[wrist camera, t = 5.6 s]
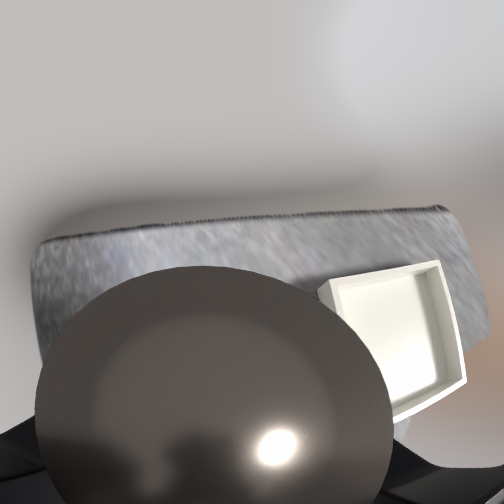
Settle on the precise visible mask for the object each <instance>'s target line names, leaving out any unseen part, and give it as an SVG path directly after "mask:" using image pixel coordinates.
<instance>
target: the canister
mask: <svg viewBox="0 0 504 504" xmlns="http://www.w3.org/2000/svg"><path fill="white" fill-rule="evenodd" d="M35 428H36V435H37V440H38V445H39V450H40V453H41V456H42V459H43V462H44V465H45V467H46V470H47V472H48V474H49V476H50V478H51V480H52V482H53V484H54V486H55V488H56V490H57V491H58V493H59V494H60V496H61V497H62V499H63V500H64V502H65V503H66V504H372V503H373V501H374V500H375V498H376V496H377V494H378V492H379V490H380V489H381V486H382V484H383V481H384V479H385V476H386V473H387V471H388V467H389V463H390V459H391V454H392V449H393V435H394V424H393V412H392V406H391V401H390V397H389V393H388V389H387V386H386V383H385V381H384V378H383V376H382V373H381V371H380V368H379V367H378V365H377V363H376V361H375V360H374V358H373V356H372V354H371V352H370V351H369V349H368V348H367V347H366V345H365V344H364V343H363V341H362V340H361V339H360V337H359V336H358V335H357V334H356V332H355V331H354V330H353V329H352V328H351V327H350V326H349V325H348V324H347V323H346V322H345V321H344V320H343V319H342V318H341V317H340V316H339V315H337V314H336V313H335V312H333V311H332V310H331V309H330V308H328V307H327V306H326V305H324V304H323V303H322V302H320V301H319V300H317V299H315V298H314V297H312V296H310V295H309V294H307V293H305V292H304V291H302V290H300V289H298V288H296V287H294V286H291V285H289V284H287V283H284V282H282V281H280V280H278V279H275V278H272V277H268V276H265V275H262V274H258V273H255V272H251V271H246V270H240V269H234V268H229V267H215V266H190V267H176V268H171V269H165V270H160V271H155V272H151V273H148V274H145V275H142V276H139V277H135V278H132V279H130V280H128V281H125V282H123V283H121V284H119V285H117V286H115V287H113V288H111V289H109V290H107V291H106V292H104V293H103V294H101V295H100V296H98V297H97V298H95V299H94V300H92V301H91V302H89V303H88V304H87V305H86V306H85V307H84V308H83V309H81V310H80V311H79V312H78V313H77V314H76V315H75V316H74V317H73V318H72V319H71V320H70V322H69V323H68V324H67V325H66V326H65V327H64V329H63V330H62V331H61V332H60V334H59V335H58V337H57V339H56V340H55V342H54V344H53V345H52V347H51V349H50V350H49V353H48V355H47V357H46V360H45V362H44V364H43V367H42V369H41V373H40V377H39V381H38V385H37V390H36V399H35Z"/></svg>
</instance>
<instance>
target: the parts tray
mask: <svg viewBox="0 0 504 504" xmlns="http://www.w3.org/2000/svg"><path fill="white" fill-rule="evenodd" d="M317 293H318V297H319V301H320V302H322V303H323V304H324V305H326V306H327V307H328V308H330V309H331V310H332V311H333V312H335V313H336V314H337V315H339V316H340V317H341V318H342V319H343V320H344V321H345V322H346V323H347V324H348V325H349V326H350V327H351V328H352V329H353V330H354V331H355V332H356V334H357V335H358V336H359V337H360V339H361V340H362V341H363V343H364V344H365V345H366V347H367V348H368V349H369V351H370V352H371V354H372V356H373V358H374V360H375V361H376V363H377V365H378V367H379V368H380V371H381V373H382V376H383V378H384V381H385V383H386V386H387V389H388V393H389V397H390V401H391V406H392V412H393V424H394V423H396V422H398V421H400V420H402V419H404V418H406V417H408V416H410V415H412V414H414V413H416V412H418V411H420V410H422V409H424V408H425V407H427V406H429V405H431V404H433V403H434V402H436V401H438V400H439V399H441V398H443V397H444V396H446V395H448V394H449V393H451V392H452V391H454V390H456V389H457V388H459V387H460V386H462V385H463V384H465V383H466V382H467V380H466V373H465V365H464V358H463V352H462V346H461V341H460V336H459V331H458V326H457V322H456V317H455V313H454V309H453V305H452V301H451V297H450V294H449V290H448V287H447V283H446V280H445V277H444V273H443V270H442V267H441V264H440V261H439V260H434V261H429V262H424V263H419V264H414V265H409V266H403V267H398V268H393V269H387V270H381V271H376V272H370V273H364V274H358V275H352V276H346V277H340V278H334V279H329V280H328V281H326V282H325V283H324V284H323V285H322V286H321V287H320V288H318V289H317Z"/></svg>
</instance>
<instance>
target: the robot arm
mask: <svg viewBox="0 0 504 504" xmlns="http://www.w3.org/2000/svg"><path fill="white" fill-rule="evenodd" d="M0 504H66V503H65V502H64V500H63V499H62V497H61V496H60V494H59V493H58V491H57V490H56V488H55V486H54V484H53V482H52V480H51V478H50V476H49V474H48V472H47V470H46V467H45V465H44V462H43V459H42V456H41V453H40V450H39V445H38V440H37V435H36V428H35V415H34V416H33V417H31V418H29V419H27V420H26V421H24V422H22V423H20V424H19V425H17V426H15V427H13V428H11V429H10V430H8V431H6V432H4V433H2V434H0ZM372 504H504V464H503V465H501V466H497V467H491V468H446V467H440V466H436V465H434V464H431V463H429V462H428V461H426V460H424V459H423V458H421V457H420V456H418V455H417V454H415V453H414V452H412V451H411V450H409V449H408V448H406V447H405V446H403V445H402V444H401V443H399V442H398V441H396V440H395V439H394V438H393V449H392V454H391V459H390V463H389V467H388V471H387V473H386V476H385V479H384V481H383V484H382V486H381V489H380V490H379V492H378V494H377V496H376V498H375V500H374V501H373V503H372Z"/></svg>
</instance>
